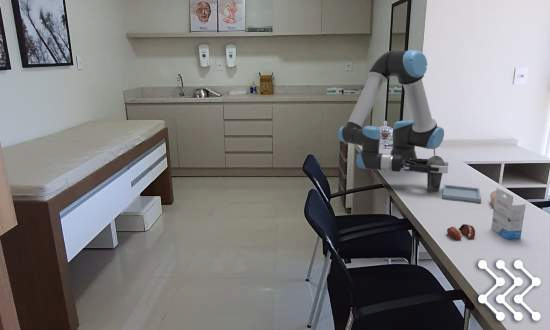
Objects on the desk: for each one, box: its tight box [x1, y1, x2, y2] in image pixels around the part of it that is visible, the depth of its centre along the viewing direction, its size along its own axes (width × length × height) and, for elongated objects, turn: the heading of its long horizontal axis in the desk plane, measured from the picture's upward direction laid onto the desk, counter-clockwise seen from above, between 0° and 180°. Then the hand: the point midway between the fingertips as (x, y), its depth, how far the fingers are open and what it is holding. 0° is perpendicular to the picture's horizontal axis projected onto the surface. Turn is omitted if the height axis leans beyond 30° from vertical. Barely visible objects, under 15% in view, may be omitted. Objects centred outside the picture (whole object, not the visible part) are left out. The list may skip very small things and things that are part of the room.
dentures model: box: [446, 223, 476, 242], centre depth 127 cm, size 6×4×8 cm
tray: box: [442, 184, 482, 204], centre depth 163 cm, size 14×14×2 cm
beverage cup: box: [426, 146, 445, 194], centre depth 167 cm, size 7×7×20 cm
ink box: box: [490, 187, 527, 240], centre depth 126 cm, size 9×5×15 cm, turn 5°
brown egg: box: [489, 190, 505, 208], centre depth 151 cm, size 7×5×5 cm
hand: (447, 167), depth 165 cm, fingers closed on beverage cup, 7 cm apart
